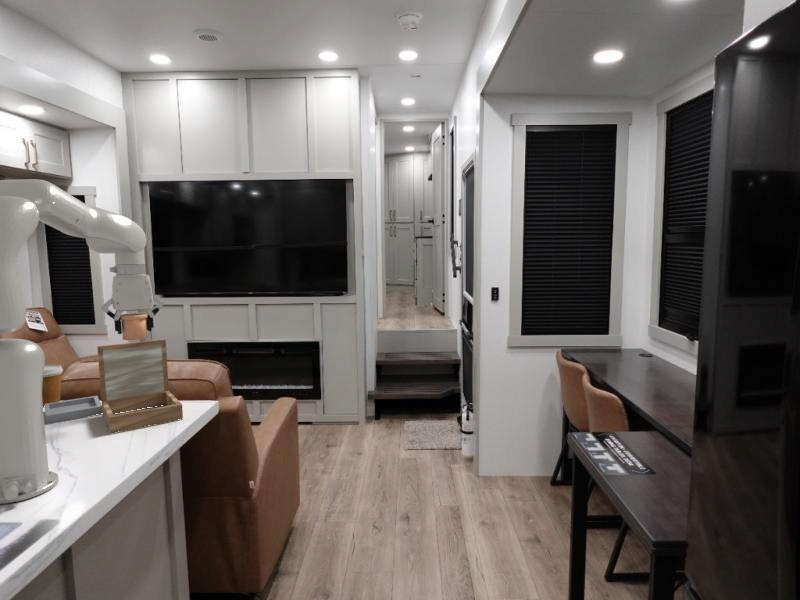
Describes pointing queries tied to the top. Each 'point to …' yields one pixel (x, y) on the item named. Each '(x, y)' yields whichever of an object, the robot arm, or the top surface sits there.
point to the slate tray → (72, 409)
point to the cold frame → (136, 385)
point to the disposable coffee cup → (51, 384)
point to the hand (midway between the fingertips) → (134, 331)
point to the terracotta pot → (134, 326)
